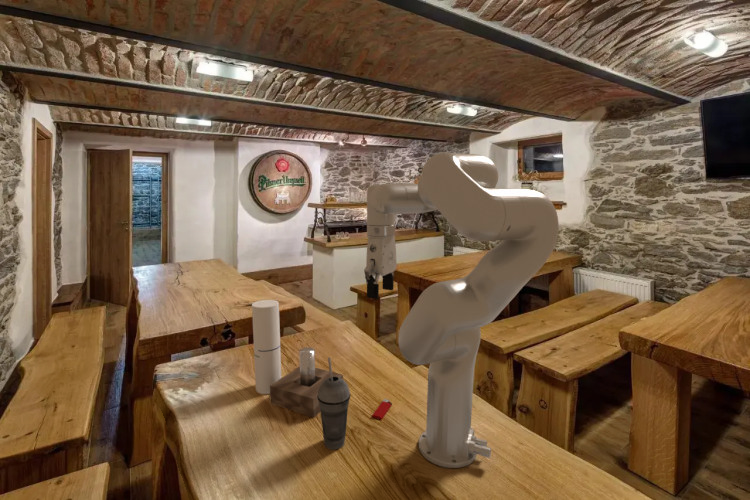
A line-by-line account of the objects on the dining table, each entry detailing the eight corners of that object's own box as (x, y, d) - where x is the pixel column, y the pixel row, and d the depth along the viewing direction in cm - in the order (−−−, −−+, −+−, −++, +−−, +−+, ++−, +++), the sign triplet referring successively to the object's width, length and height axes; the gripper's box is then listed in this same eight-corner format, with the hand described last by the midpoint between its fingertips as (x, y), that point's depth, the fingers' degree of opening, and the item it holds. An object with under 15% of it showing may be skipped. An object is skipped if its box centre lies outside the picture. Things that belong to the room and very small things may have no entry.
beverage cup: (337, 458, 80) (336, 370, 77) (311, 446, 84) (309, 361, 81) (357, 439, 86) (356, 357, 83) (331, 428, 90) (330, 349, 87)
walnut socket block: (343, 391, 107) (342, 374, 106) (313, 417, 95) (313, 398, 94) (303, 379, 113) (302, 364, 112) (270, 403, 101) (269, 385, 100)
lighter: (371, 414, 95) (383, 398, 102) (371, 419, 95) (383, 402, 102) (381, 417, 94) (393, 400, 101) (381, 421, 94) (392, 405, 101)
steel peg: (318, 390, 105) (317, 349, 103) (309, 397, 101) (308, 354, 99) (306, 386, 106) (305, 346, 104) (297, 393, 103) (296, 351, 101)
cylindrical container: (274, 395, 105) (271, 308, 101) (251, 392, 106) (246, 306, 102) (285, 382, 112) (283, 300, 108) (263, 380, 113) (259, 299, 109)
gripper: (379, 235, 92) (379, 303, 94) (405, 229, 107) (405, 288, 110) (352, 234, 95) (353, 300, 98) (381, 228, 110) (381, 285, 113)
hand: (380, 293), depth 104 cm, fingers open, 9 cm apart
